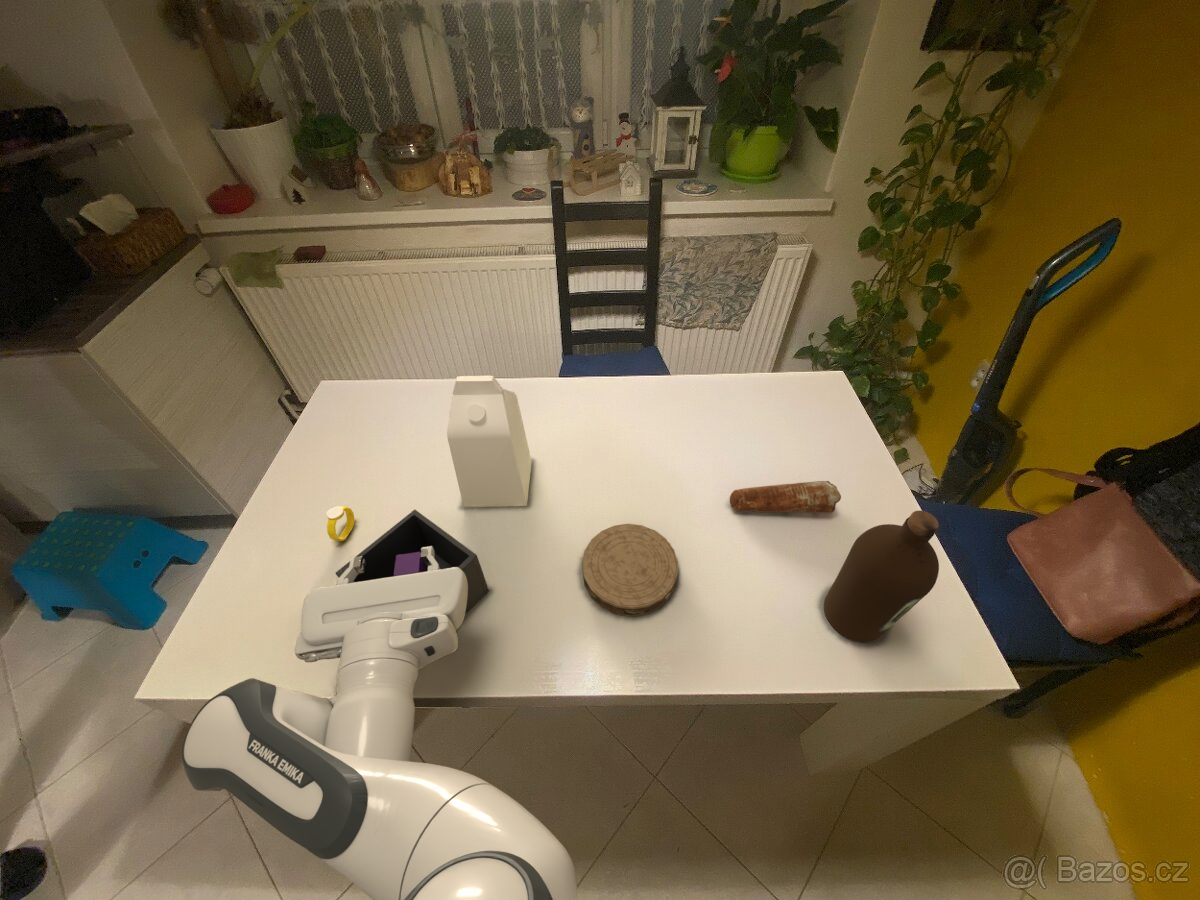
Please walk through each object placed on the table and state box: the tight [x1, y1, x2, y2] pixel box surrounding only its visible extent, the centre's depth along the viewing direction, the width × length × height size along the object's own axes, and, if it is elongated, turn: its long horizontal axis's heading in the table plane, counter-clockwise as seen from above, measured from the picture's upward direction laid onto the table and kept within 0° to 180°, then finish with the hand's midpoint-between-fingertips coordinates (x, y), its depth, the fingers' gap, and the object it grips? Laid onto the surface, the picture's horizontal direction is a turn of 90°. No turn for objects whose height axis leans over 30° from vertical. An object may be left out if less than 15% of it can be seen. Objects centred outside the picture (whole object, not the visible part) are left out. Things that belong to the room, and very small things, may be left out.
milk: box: [446, 375, 533, 508], centre depth 91 cm, size 12×12×26 cm
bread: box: [729, 480, 842, 514], centre depth 94 cm, size 6×19×6 cm, turn 88°
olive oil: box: [823, 510, 940, 644], centre depth 72 cm, size 11×11×25 cm
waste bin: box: [335, 509, 490, 616], centre depth 79 cm, size 15×15×11 cm
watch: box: [325, 505, 355, 542], centre depth 90 cm, size 6×3×6 cm, turn 173°
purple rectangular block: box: [394, 552, 428, 576], centre depth 79 cm, size 4×4×10 cm
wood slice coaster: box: [581, 523, 679, 618], centre depth 85 cm, size 16×16×3 cm
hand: (393, 553), depth 71 cm, fingers open, 8 cm apart
